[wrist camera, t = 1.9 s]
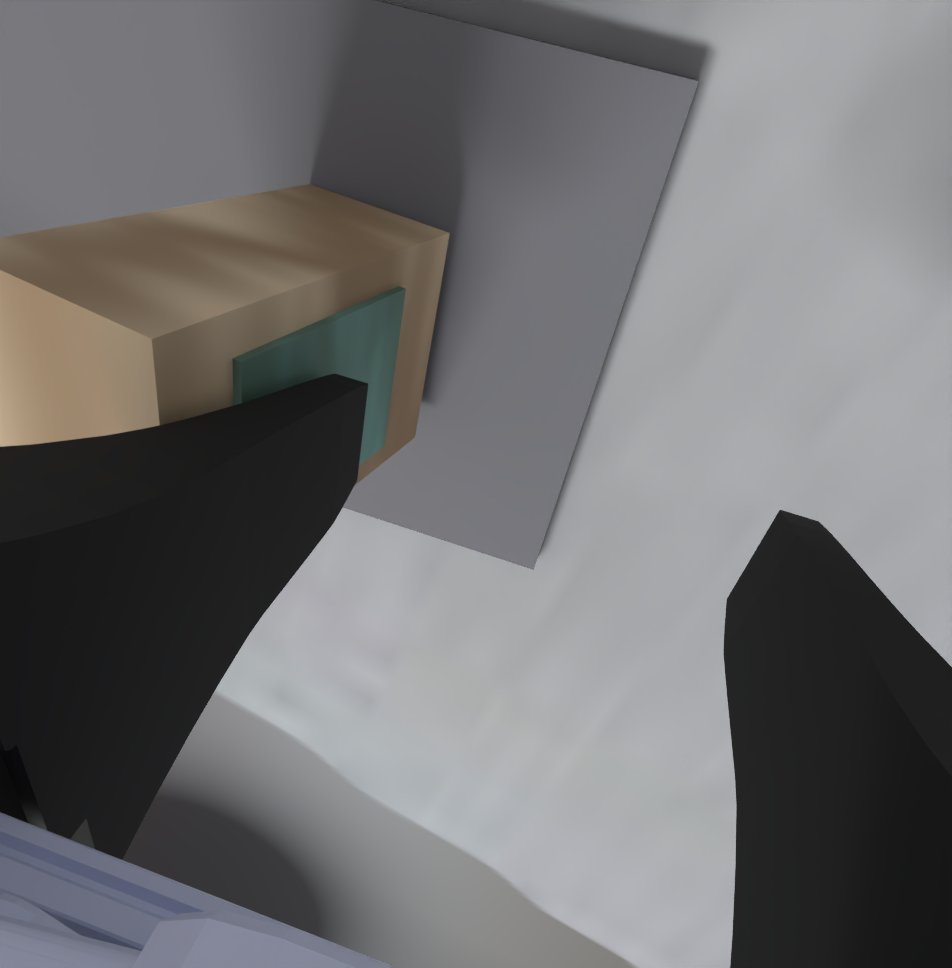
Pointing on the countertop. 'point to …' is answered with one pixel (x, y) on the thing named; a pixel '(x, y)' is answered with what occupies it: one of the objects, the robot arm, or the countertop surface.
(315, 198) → the oak block
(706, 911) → the countertop surface
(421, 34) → the mat
